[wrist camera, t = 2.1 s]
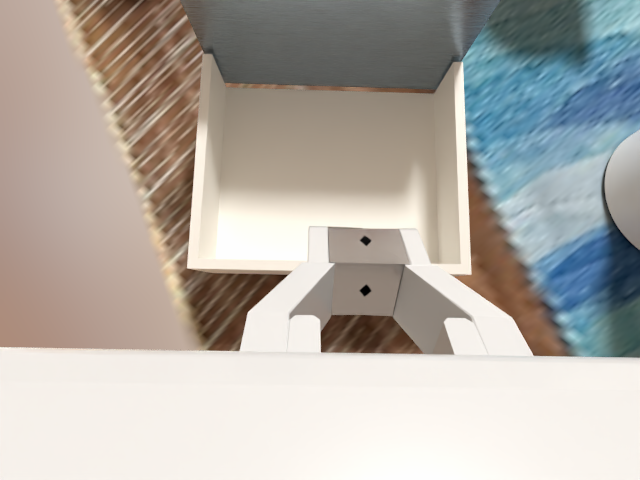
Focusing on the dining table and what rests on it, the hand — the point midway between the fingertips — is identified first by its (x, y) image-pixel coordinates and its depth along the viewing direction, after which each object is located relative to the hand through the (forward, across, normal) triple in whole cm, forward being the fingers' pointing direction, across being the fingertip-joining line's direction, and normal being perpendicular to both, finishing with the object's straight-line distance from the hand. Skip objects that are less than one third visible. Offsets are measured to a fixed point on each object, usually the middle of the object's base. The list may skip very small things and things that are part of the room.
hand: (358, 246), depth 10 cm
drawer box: (+24, 0, +11) cm, 26 cm away
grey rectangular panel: (+30, 0, +2) cm, 30 cm away
